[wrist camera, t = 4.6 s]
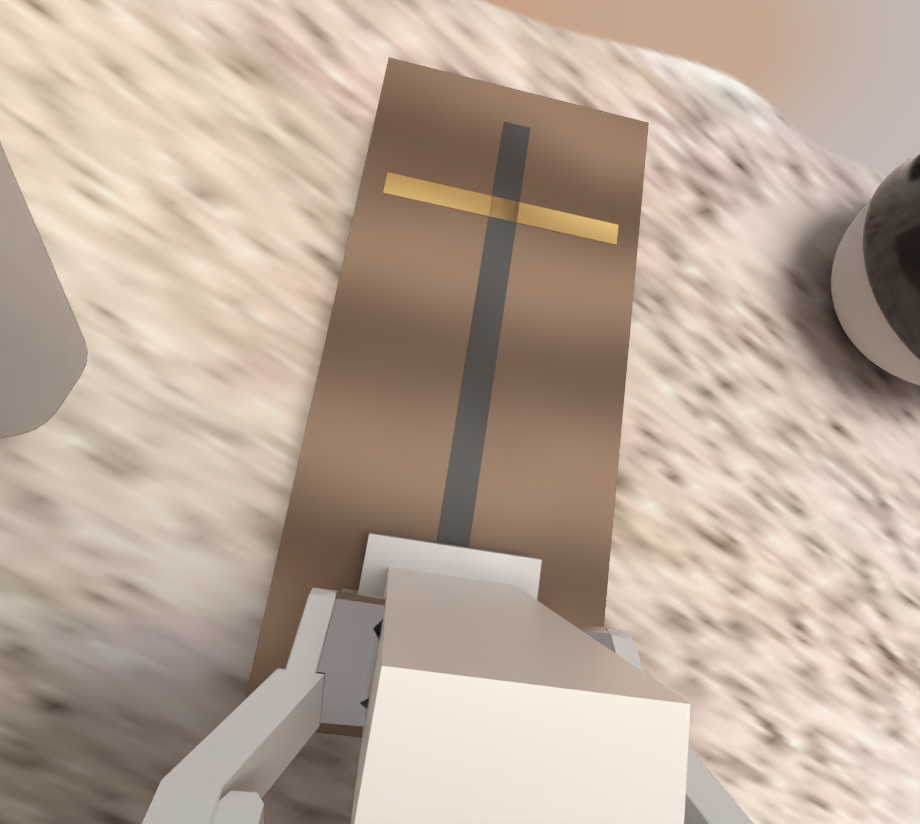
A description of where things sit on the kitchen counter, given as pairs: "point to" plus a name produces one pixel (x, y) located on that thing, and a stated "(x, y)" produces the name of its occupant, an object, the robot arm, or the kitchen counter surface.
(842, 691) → the kitchen counter surface
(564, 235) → the board
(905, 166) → the pump dispenser
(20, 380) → the grey box
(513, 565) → the fader tab
